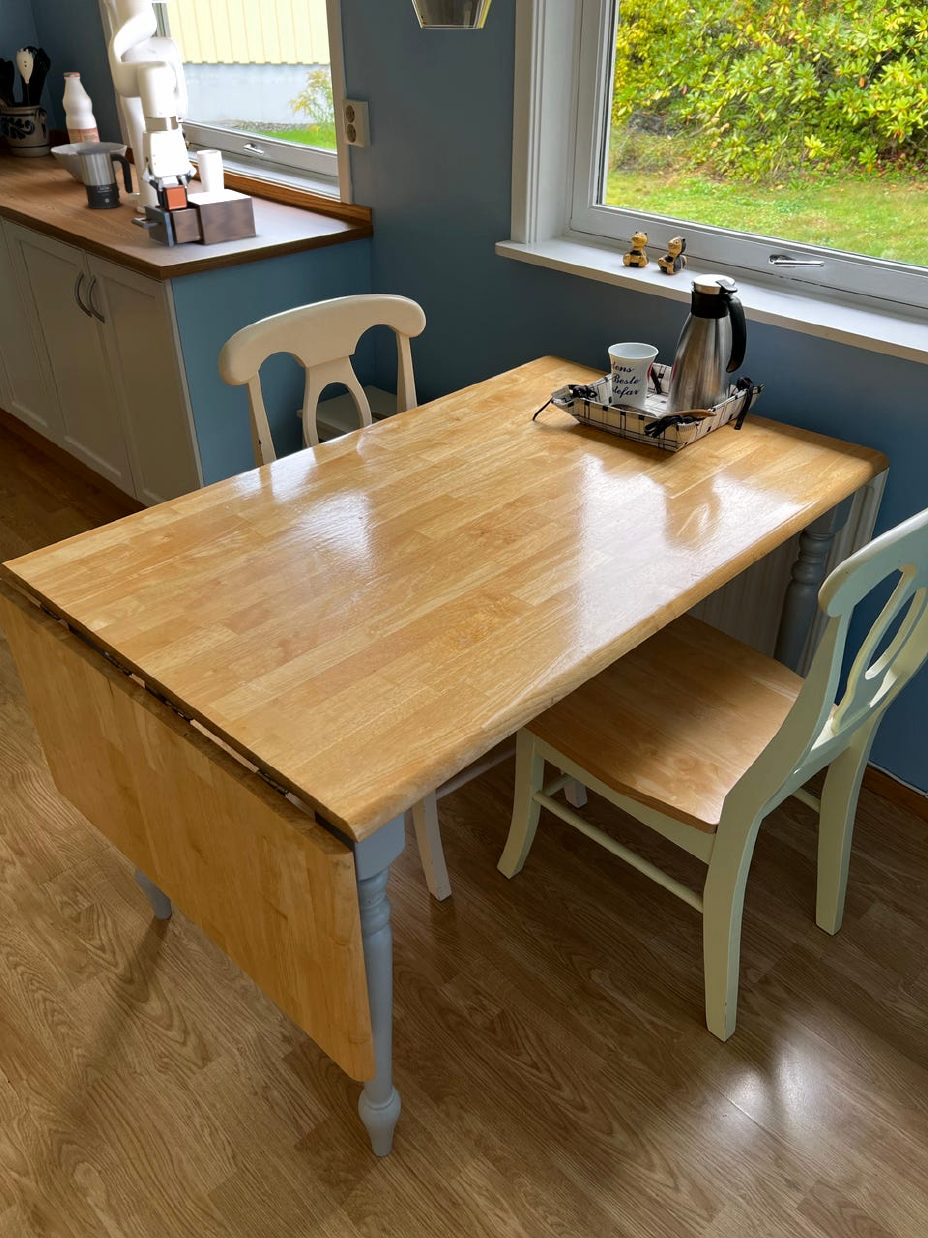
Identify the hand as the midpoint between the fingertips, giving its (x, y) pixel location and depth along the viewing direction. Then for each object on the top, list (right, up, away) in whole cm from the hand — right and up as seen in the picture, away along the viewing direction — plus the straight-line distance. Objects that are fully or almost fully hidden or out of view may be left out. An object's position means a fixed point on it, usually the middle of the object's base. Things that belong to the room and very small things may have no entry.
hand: (173, 204), depth 241 cm
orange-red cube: (0, 0, 0) cm, 0 cm away
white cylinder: (+1, +15, +37) cm, 40 cm away
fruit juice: (-56, +52, +91) cm, 119 cm away
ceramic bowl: (-46, +37, +69) cm, 91 cm away
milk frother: (-33, +19, +43) cm, 58 cm away
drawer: (-1, -7, +4) cm, 8 cm away
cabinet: (+9, -3, +11) cm, 14 cm away
